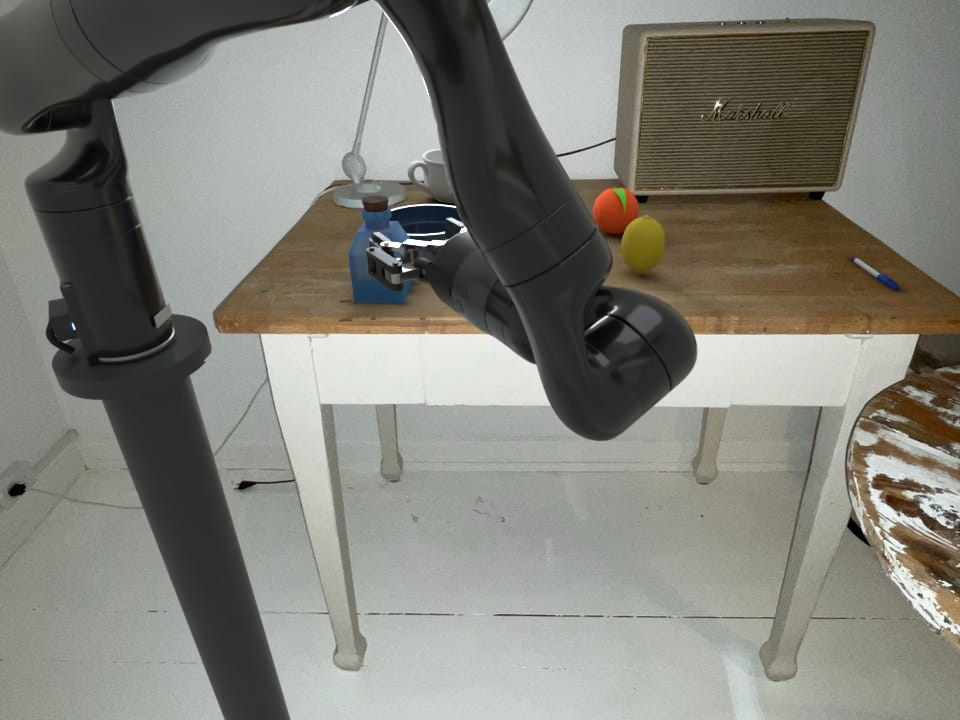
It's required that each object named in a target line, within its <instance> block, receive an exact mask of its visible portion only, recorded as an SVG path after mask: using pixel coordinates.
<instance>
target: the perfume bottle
mask: <svg viewBox="0 0 960 720" xmlns="http://www.w3.org/2000/svg"><path fill="white" fill-rule="evenodd" d="M389 199H390V198H389V196H387V195H383V194H373V195H367V196H364V197H362V198H361V203H362V205H363V207H362V208H361V218H362V220H364V222H363V224H362V225H361V226H360V227H359V228H358V230H356V231H357V232H356V234H355V236H354V239H353V241H352V244H351V246H350V249H349V251H348V253H347V257H348V264H349V272H350V280H351V287H352V295H353V303H355V304H358V303H360V304H396V305H397V304H399V305H404V304H405V303H406V301H407V299H408V296H409V294H410V292H411V290H412V288H413V285H414V279H412V280H408V281H404V289H403V290H402V291H392V290H391V289H389V288H388V287H386V286H385V285H384V284H382V283H381V282H379V281H378V280H376V279H375V278H374V277H372V276H371V275H369V274H368V262H367V255H366V248H369V247H370V246H369V238H371V234H372V233H375V232H379V233H381V234H382V235H384V236H385V237H387V238H388V239H389V240H391V241H392V242H396V243H403V242H405V241H406V240H408V239H410V237H409V236H408V235H407V233H406V232H405V231H404V229H403V228H402V226H401V225H400V224H399V222H398V221H389V218H391V210H392V207H390V205H389ZM394 258H395V259H397V258H400V259H401V254H400V253H399V252H394Z"/></svg>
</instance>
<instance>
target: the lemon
mask: <svg viewBox="0 0 960 720" xmlns="http://www.w3.org/2000/svg"><path fill="white" fill-rule="evenodd" d="M622 234H623V235H622V238H621V241H620V242H621V243H620V253H621V258H622V260H623V262H624V264H625V265H626V266H627V267H628V268H629V269H631V270H633V271H634V272H635V273H636V274H637V275H642V274H644V273H645V272H648V271H651V270H652V269H654V268H655V267H657V266H658V265H659V263H660V262H661V260H662V259H663V257H664V253H665V250H666V234H665V230H664V227H663V226H662V224H661V223H660V222H659V221H658V220H656V219H654V218H653V217H651V216H650V215H648V214H644V215H642V216H641V217H637V219H635V220H634V221H632V222H631V223H630V224H629V225H628V226H627V228H626V230H625V232H623V233H622Z"/></svg>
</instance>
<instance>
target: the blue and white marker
mask: <svg viewBox="0 0 960 720" xmlns="http://www.w3.org/2000/svg"><path fill="white" fill-rule="evenodd" d="M851 260H852V261H853V262H854V263H855V264H856V265H857V266H859V267H860V268H862V269H863V270H865V271H866V272H867V273H869V274H870V275H872V276H873V277H875V278H876V279H877V280H878V281H880V282H881V283H883V284H884V285H885V286H887V287H888V288H890V289H892V290H893V291H895V292H899V290H900V289H901V288H900V285H899V284H898V282H897V281H895V280H894V279H893V278H892V277H889V276H888V275H887V274H882V273H880V272H878V271H877V270H876V269H874V268H873V267H871V266H869V264H867V263H866V262H864V261H862V260H861V259H859V258H857V257H855V256H852V257H851Z"/></svg>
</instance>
